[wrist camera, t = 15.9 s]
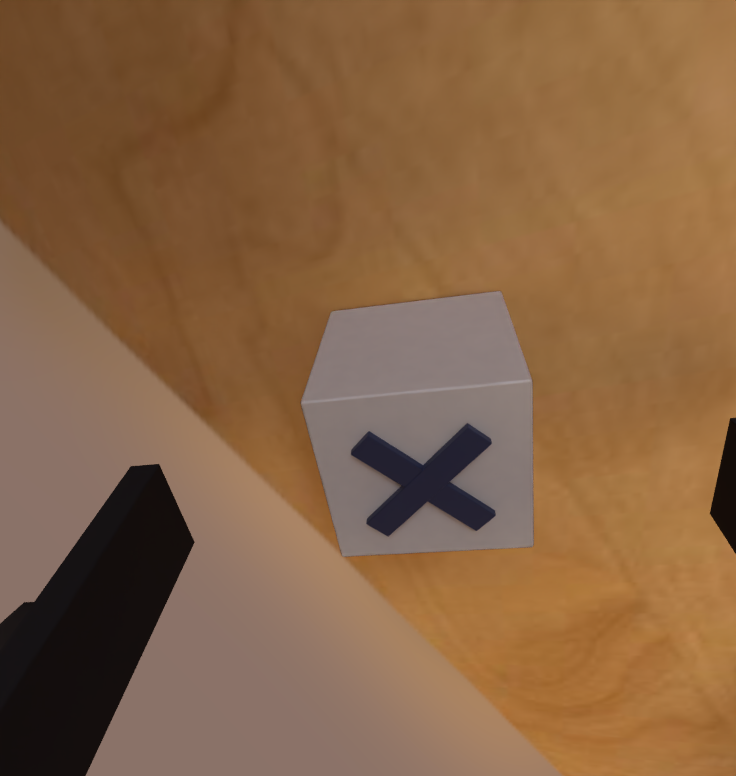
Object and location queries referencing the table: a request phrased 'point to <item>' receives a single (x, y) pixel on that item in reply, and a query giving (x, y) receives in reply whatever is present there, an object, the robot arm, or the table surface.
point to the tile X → (424, 427)
